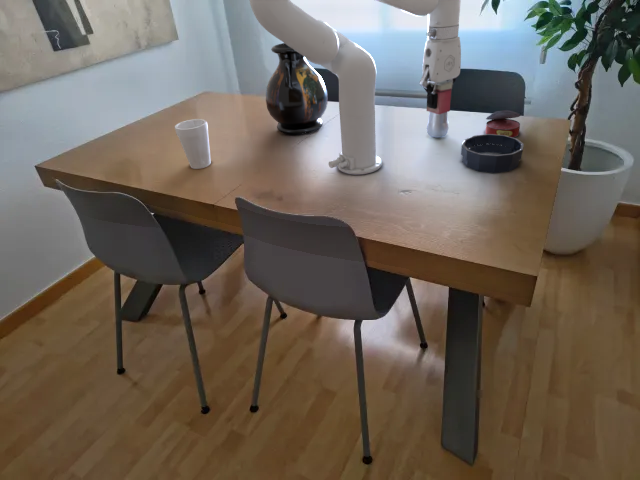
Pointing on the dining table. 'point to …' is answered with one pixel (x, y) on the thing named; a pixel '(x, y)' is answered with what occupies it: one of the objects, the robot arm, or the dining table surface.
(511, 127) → the canned food
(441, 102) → the small box
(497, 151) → the ring
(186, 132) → the foam cup
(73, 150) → the dining table surface
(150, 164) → the dining table surface
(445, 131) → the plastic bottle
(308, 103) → the amphora vase
